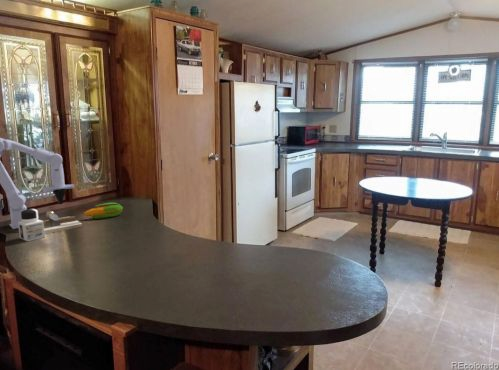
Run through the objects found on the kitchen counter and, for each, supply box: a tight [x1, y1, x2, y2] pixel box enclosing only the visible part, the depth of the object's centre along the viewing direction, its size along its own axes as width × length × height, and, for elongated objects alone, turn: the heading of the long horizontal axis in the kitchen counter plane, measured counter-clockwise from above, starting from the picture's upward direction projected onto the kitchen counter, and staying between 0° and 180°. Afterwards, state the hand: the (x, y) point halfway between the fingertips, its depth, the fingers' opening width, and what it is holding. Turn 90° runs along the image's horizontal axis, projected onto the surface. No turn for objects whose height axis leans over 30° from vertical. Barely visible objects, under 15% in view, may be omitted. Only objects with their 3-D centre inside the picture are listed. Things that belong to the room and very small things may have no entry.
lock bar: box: [46, 210, 59, 221], centre depth 190 cm, size 12×3×2 cm, turn 41°
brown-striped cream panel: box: [42, 215, 83, 235], centre depth 191 cm, size 19×17×4 cm
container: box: [18, 208, 46, 242], centre depth 173 cm, size 8×8×13 cm
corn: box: [83, 202, 124, 220], centre depth 207 cm, size 7×8×20 cm
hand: (60, 203), depth 198 cm, fingers closed
